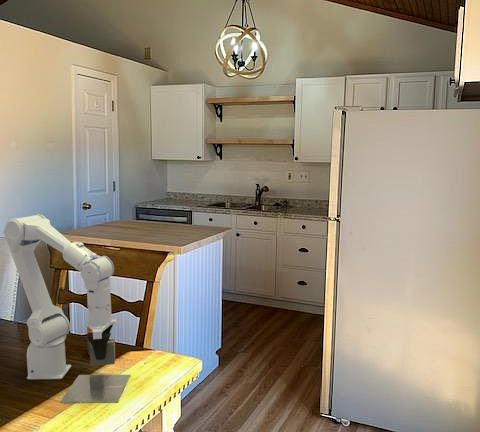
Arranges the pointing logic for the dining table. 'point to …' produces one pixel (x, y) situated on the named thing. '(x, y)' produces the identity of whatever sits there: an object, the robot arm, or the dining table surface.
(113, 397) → the grey flat square slab
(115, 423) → the dining table surface
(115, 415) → the dining table surface
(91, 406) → the dining table surface
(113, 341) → the striped grey block
